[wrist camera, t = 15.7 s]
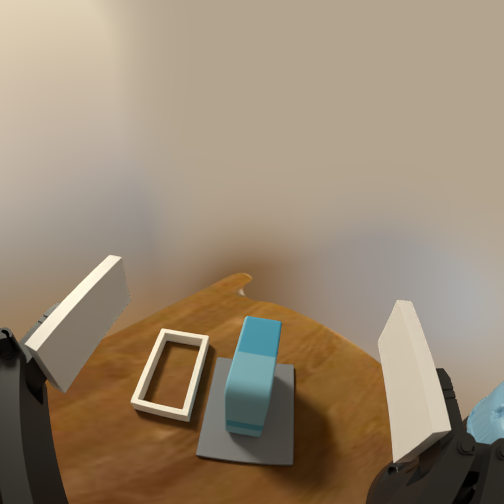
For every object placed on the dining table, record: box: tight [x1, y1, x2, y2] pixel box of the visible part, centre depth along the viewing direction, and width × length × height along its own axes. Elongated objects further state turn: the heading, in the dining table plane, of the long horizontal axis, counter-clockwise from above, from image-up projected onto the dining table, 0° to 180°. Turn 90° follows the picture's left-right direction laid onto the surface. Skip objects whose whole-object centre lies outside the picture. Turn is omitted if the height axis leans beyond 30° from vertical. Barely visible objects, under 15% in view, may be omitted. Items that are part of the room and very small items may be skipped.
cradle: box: [131, 328, 209, 422], centre depth 38 cm, size 8×15×2 cm, turn 175°
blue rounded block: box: [224, 316, 282, 437], centre depth 32 cm, size 12×4×12 cm, turn 170°
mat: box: [196, 357, 294, 466], centre depth 35 cm, size 12×17×1 cm
